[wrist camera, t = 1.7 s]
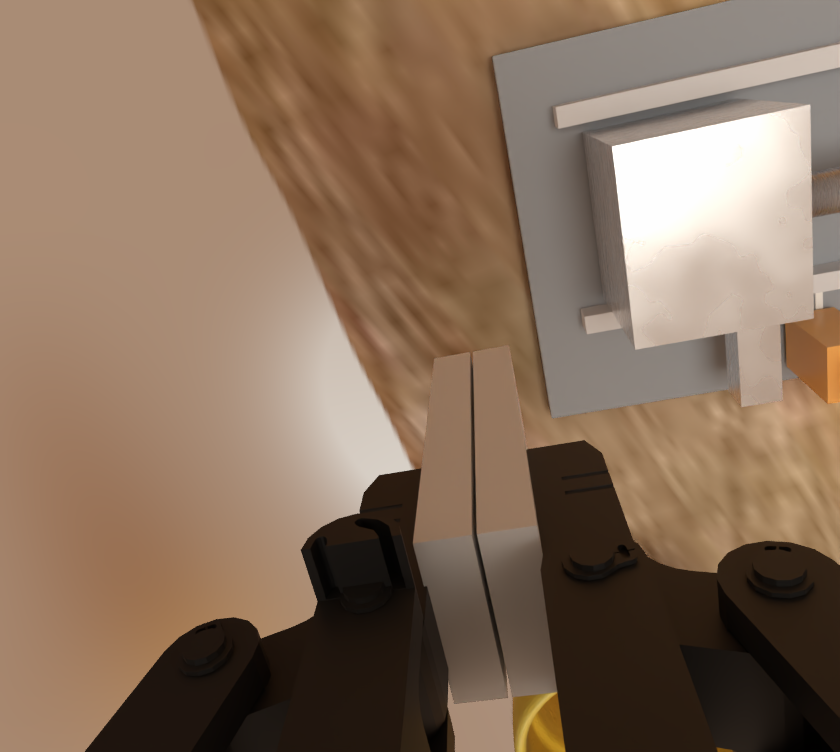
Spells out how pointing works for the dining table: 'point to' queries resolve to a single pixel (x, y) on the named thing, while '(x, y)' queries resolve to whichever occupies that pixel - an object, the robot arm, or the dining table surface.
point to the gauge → (711, 230)
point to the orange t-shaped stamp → (816, 352)
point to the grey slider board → (629, 101)
